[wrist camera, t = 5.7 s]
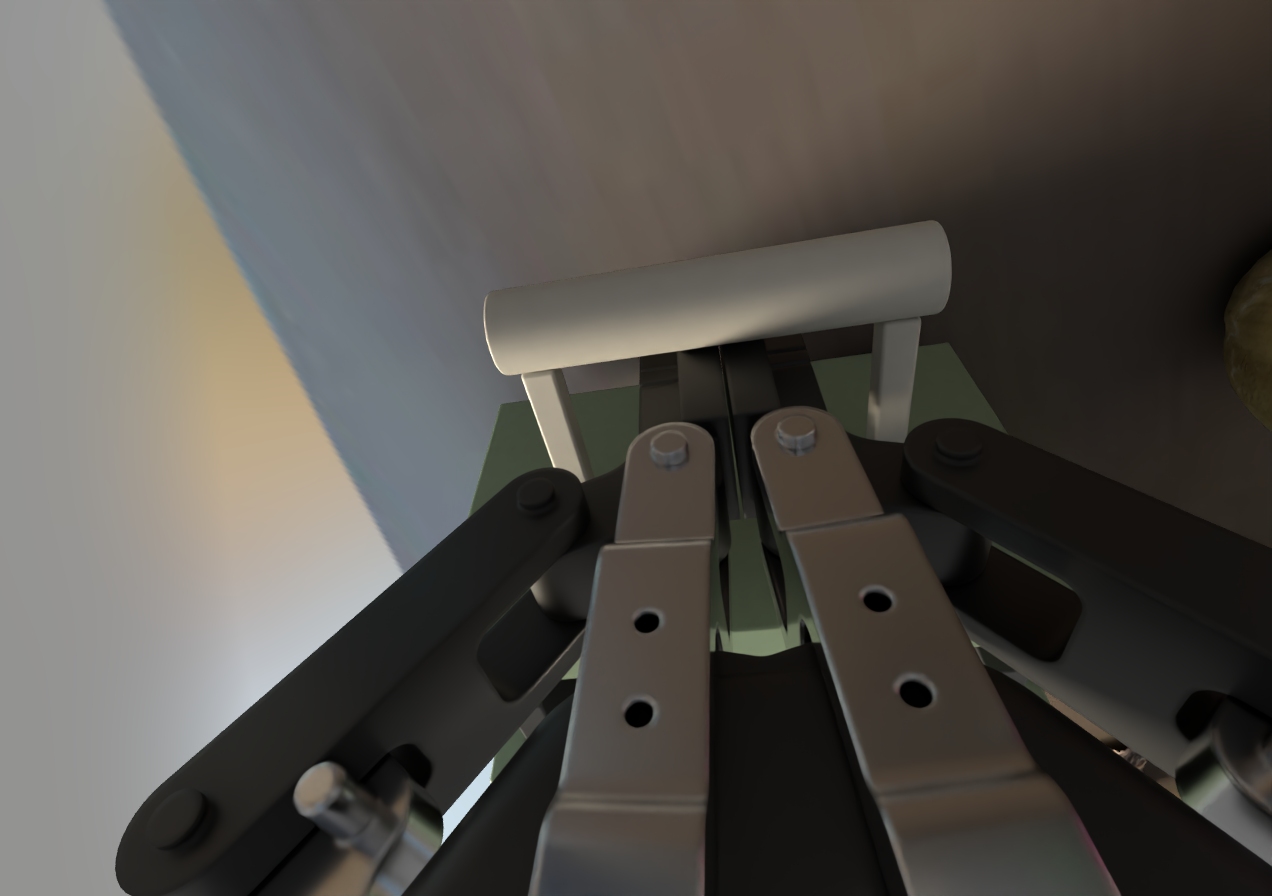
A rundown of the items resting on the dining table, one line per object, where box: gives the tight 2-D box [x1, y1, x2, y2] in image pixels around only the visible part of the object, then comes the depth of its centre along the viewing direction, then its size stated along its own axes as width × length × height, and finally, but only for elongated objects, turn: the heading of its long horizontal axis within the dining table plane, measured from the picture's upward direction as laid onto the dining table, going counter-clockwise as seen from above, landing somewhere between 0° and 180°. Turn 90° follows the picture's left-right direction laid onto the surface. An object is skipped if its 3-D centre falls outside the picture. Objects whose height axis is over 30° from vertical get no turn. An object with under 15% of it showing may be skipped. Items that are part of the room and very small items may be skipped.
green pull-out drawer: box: [468, 220, 1075, 739], centre depth 17 cm, size 20×12×8 cm, turn 10°
